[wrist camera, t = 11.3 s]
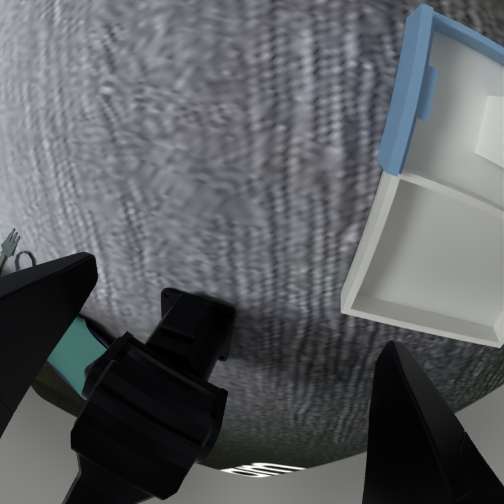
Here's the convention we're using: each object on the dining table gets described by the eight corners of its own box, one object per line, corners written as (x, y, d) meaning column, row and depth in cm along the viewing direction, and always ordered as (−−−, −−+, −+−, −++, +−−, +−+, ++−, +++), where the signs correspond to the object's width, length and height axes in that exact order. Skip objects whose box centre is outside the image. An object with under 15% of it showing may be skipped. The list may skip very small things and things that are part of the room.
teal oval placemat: (107, 409, 44) (101, 419, 42) (-7, 271, 35) (-17, 278, 33) (183, 402, 35) (176, 416, 33) (27, 207, 27) (12, 215, 25)
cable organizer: (491, 329, 20) (504, 357, 17) (332, 290, 22) (331, 321, 19) (577, 118, 10) (605, 127, 7) (406, 15, 12) (422, -1, 9)
